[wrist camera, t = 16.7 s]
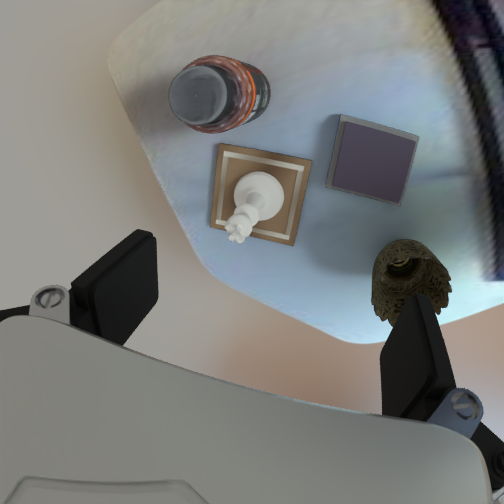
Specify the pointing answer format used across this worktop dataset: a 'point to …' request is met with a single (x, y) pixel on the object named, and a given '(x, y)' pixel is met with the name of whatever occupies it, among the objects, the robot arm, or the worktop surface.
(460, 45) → the worktop surface
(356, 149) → the ink pad
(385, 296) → the cup
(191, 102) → the supplement bottle
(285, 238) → the stamp board
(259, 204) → the chess piece
